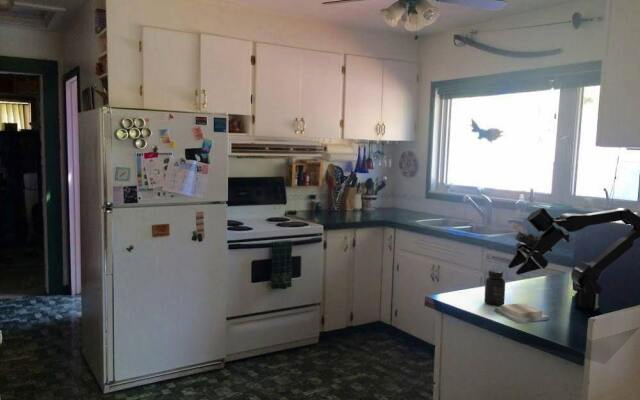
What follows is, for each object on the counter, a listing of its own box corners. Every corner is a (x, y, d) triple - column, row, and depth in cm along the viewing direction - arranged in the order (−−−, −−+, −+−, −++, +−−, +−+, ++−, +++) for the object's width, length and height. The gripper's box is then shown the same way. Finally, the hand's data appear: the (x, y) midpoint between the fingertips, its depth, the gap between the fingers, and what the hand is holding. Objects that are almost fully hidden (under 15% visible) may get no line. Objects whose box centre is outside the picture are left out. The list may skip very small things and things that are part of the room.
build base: (522, 308, 180) (522, 301, 179) (548, 319, 169) (549, 311, 168) (494, 311, 176) (494, 304, 175) (519, 322, 164) (519, 315, 164)
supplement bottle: (506, 303, 186) (508, 270, 184) (501, 307, 180) (503, 274, 179) (486, 299, 189) (488, 267, 188) (481, 304, 184) (483, 271, 182)
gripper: (522, 220, 190) (490, 248, 192) (540, 228, 171) (504, 259, 173) (543, 242, 190) (510, 270, 192) (563, 252, 172) (527, 283, 174)
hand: (512, 270), depth 183 cm, fingers open, 9 cm apart
